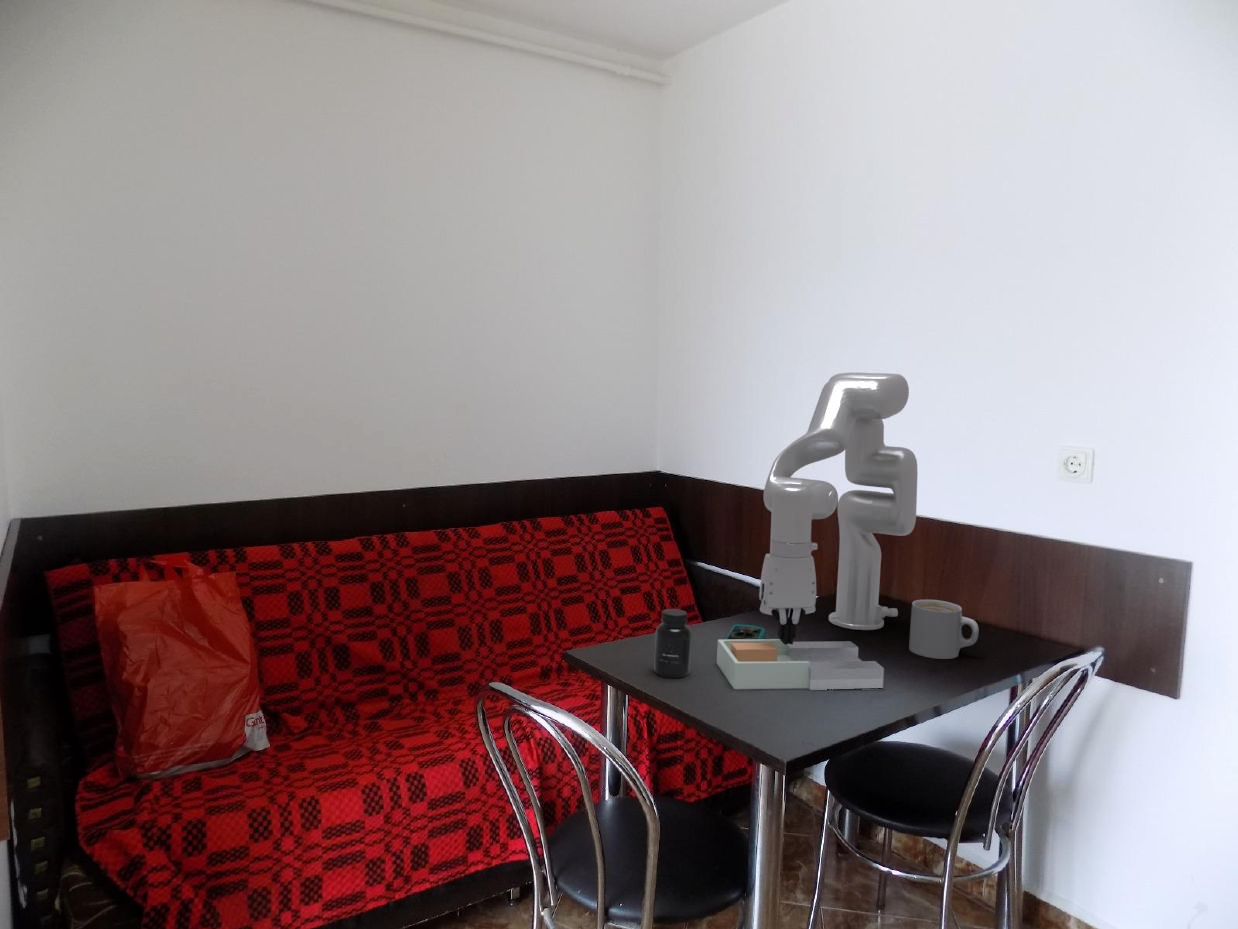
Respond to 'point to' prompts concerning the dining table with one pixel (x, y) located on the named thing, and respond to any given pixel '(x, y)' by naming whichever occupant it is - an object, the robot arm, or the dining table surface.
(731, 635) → the digital multimeter
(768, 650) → the chip
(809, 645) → the slotted block
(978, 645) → the dining table surface
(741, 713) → the dining table surface
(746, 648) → the chip
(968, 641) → the coffee mug
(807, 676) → the tray
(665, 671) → the supplement bottle
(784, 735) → the dining table surface
